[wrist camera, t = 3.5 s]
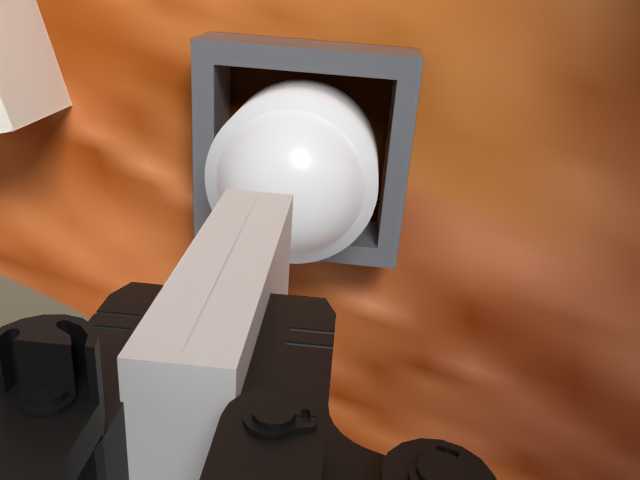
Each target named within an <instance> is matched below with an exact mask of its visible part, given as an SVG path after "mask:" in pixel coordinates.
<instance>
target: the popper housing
mask: <svg viewBox="0 0 640 480" xmlns="http://www.w3.org/2000/svg"><path fill="white" fill-rule="evenodd" d="M423 61H424V57H423V55H422V54H421V52H420V50H419V49H418V48H407V47H394V46H382V45H370V44H358V43H345V42H333V41H321V40H308V39H296V38H284V37H272V36H259V35H247V34H235V33H222V32H207V33H205V34H202V35H200V36H197V37H194V38H192V39H191V82H192V145H193V208H194V238H195V237H196V235H197V233H198V232H199V230H200V229H201V227H202V226H203V224H204V223H205V221H206V220H207V218H208V217H209V215H210V213H211V212H212V210H211V207H210V204H209V201H208V198H207V194H206V189H205V165H206V160H207V155H208V152H209V149H210V147H211V144H212V142H213V140H214V139H215V137H216V135H217V134H218V132H219V131H220V129H221V128H222V127H223V126H224V125H225V123H226V122H227V121H228V120H229V119H230V66H236V67H248V68H260V69H272V70H284V71H296V72H308V73H320V74H332V75H344V76H356V77H367V78H379V79H391V80H393V88H392V97H391V105H390V114H389V123H388V131H387V140H386V148H385V157H384V166H383V174H382V183H381V191H380V200H379V209H378V217H377V222H374V221H369V223H368V224H367V226H366V227H365V229H364V230H363V232H362V233H361V234H360V235H359V236H358V237H357V239H356V240H355V241H354V242H352V243H351V244H350V245H349V246H348V247H346V248H345V249H343V250H342V251H340V252H339V253H337V254H335V255H333V256H331V257H329V258H326V259H323V260H320V262H330V263H341V264H351V265H361V266H371V267H382V268H392V269H396V263H397V255H398V248H399V240H400V233H401V225H402V218H403V210H404V203H405V195H406V188H407V181H408V173H409V166H410V158H411V151H412V143H413V136H414V128H415V121H416V113H417V106H418V99H419V91H420V84H421V76H422V69H423Z"/></svg>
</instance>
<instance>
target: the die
mask: <svg viewBox="0 0 640 480" xmlns="http://www.w3.org/2000/svg"><path fill="white" fill-rule="evenodd" d="M69 106H72V103H71V100H70V97H69V94H68V91H67V88H66V85H65V83H64V80H63V77H62V74H61V71H60V68H59V65H58V62H57V59H56V57H55V54H54V51H53V48H52V45H51V42H50V39H49V36H48V33H47V31H46V28H45V25H44V22H43V19H42V16H41V13H40V10H39V7H38V5H37V2H36V0H0V134H1V133H6V132H12V131H15V130H17V129H20V128H22V127H24V126H26V125H29V124H31V123H33V122H36V121H38V120H40V119H42V118H45V117H47V116H49V115H51V114H54V113H56V112H58V111H60V110H63V109H65V108H67V107H69Z"/></svg>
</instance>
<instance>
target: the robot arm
mask: <svg viewBox="0 0 640 480" xmlns="http://www.w3.org/2000/svg"><path fill="white" fill-rule="evenodd" d="M292 212H293V195H291V194H279V193H268V192H257V191H246V190H234V189H226V190H225V192H224V193H223V195H222V197H221V198H220V200H219V201H218V203H217V204H216V206H215V207H214V209H213V210H212V212H211V213H210V215H209V217H208V218H207V220H206V221H205V223H204V224H203V226H202V227H201V229H200V230H199V232H198V233H197V235H196V237H195V238H194V240H193V241H192V243H191V244H190V246H189V247H188V249H187V250H186V252H185V254H184V255H183V257H182V258H181V260H180V261H179V263H178V264H177V266H176V267H175V269H174V270H173V272H172V274H171V275H170V277H169V278H168V280H167V281H166V283H165V284H164V285H158V284H147V283H137V282H131V283H129V284H127V285H126V286H124V287H122V288H120V289H119V290H117V291H115V292H113V293H112V294H110V295H109V296H108V297H107V299H106V300H105V301H104V302H103V304H102V305H101V306H100V307H99V309H98V310H97V314H94V315H93V316H92V317H91V319H90V320H89V321H86V320H84V319H83V318H79V317H74V316H70V315H65V314H62V315H39V316H34V317H29V318H24V319H20V320H18V321H15V322H13V323H10V324H7V325H5V326H2V327H1V328H0V480H497V479H496V477H495V476H494V474H493V473H492V472H491V471H490V469H489V468H488V467H487V466H486V465H485V463H484V462H483V461H482V460H481V459H480V458H479V457H477V456H476V455H474V454H472V453H471V452H469V451H468V450H466V449H465V448H463V447H461V446H458V445H455V444H452V443H449V442H447V441H444V440H437V439H423V438H420V439H415V440H411V441H407V442H402V443H401V444H399V445H398V446H396V447H395V448H393V449H392V450H391V451H389V452H388V453H387V455H386V456H385V455H383V454H380V453H377V452H374V451H371V450H369V449H367V448H364V447H362V446H360V445H358V444H356V443H354V442H352V441H351V440H350V439H348V438H347V437H346V436H344V435H343V434H342V433H341V432H340V431H339V430H338V429H337V427H336V426H335V425H334V424H333V421H332V419H331V417H330V415H329V408H328V400H329V389H330V377H331V366H332V354H333V342H334V331H335V319H336V313H335V312H334V310H333V309H332V307H331V306H330V304H329V303H328V301H327V300H326V298H317V297H306V296H296V295H288V284H289V266H290V248H291V230H292Z"/></svg>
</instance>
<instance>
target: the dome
mask: <svg viewBox="0 0 640 480" xmlns="http://www.w3.org/2000/svg"><path fill="white" fill-rule="evenodd" d="M378 184H379V179H378V150H377V142H376V138H375V133H374V131H373V128H372V125H371V123H370V121H369V120H368V118H367V116H366V114H365V113H364V112H363V110H362V109H361V108H360V106H359V105H358V104H357V103H356V102H355V101H354V100H353V99H352V98H350V97H349V96H348V95H347V94H345V93H344V92H342V91H341V90H339V89H337V88H335V87H333V86H331V85H329V84H326V83H323V82H319V81H315V80H309V79H291V80H284V81H281V82H277V83H274V84H272V85H269V86H267V87H265V88H263V89H262V90H260V91H258V92H257V93H256V94H254V95H253V96H252V97H250V98H249V99H248V101H247V102H246V103H245V104H244V105H243V106H242V107H241V108H240V109H239V110H238V111H237V112H236V113H235V114H234V115H233V116H232V117H231V118H230V119H229V120H228V121H227V122H226V123H225V125H224V126H223V127H222V128H221V129H220V131H219V132H218V134H217V135H216V137H215V139H214V140H213V142H212V144H211V147H210V149H209V152H208V155H207V160H206V165H205V189H206V194H207V198H208V201H209V204H210V207H211V210H213V209H214V207H215V206H216V204H217V203H218V201H219V200H220V198H221V197H222V195H223V193H224V192H225V190H226V189H234V190H246V191H257V192H268V193H279V194H291V195H293V212H292V230H291V248H290V264H302V263H311V262H315V261H320V260H323V259H326V258H329V257H331V256H333V255H335V254H337V253H339V252H340V251H342V250H343V249H345V248H346V247H348V246H349V245H350V244H351V243H352V242H354V241H355V240H356V239H357V237H358V236H359V235H360V234H361V233H362V232H363V230H364V229H365V227H366V226H367V224H368V223H369V221H370V219H371V217H372V215H373V212H374V209H375V206H376V202H377V196H378Z"/></svg>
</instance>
